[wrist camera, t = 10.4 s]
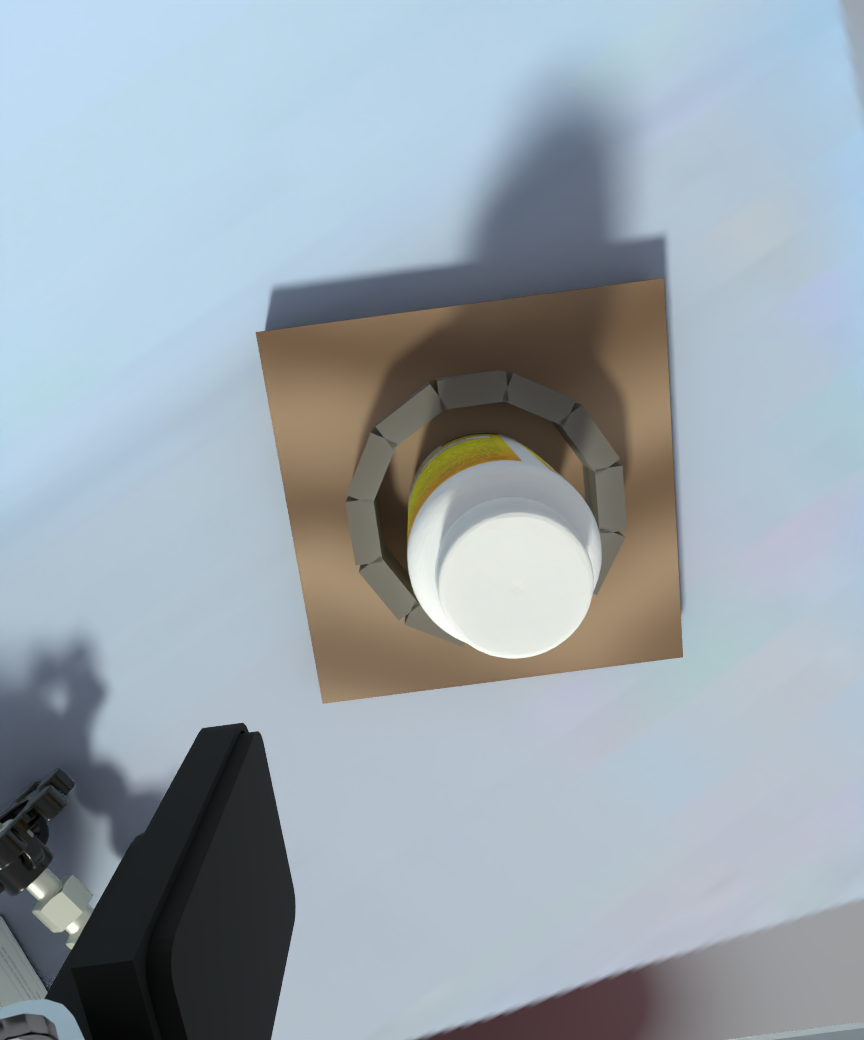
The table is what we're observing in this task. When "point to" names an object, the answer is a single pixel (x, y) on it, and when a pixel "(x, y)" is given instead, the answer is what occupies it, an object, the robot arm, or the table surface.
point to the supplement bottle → (500, 546)
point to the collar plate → (461, 410)
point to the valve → (41, 858)
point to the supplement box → (16, 972)
